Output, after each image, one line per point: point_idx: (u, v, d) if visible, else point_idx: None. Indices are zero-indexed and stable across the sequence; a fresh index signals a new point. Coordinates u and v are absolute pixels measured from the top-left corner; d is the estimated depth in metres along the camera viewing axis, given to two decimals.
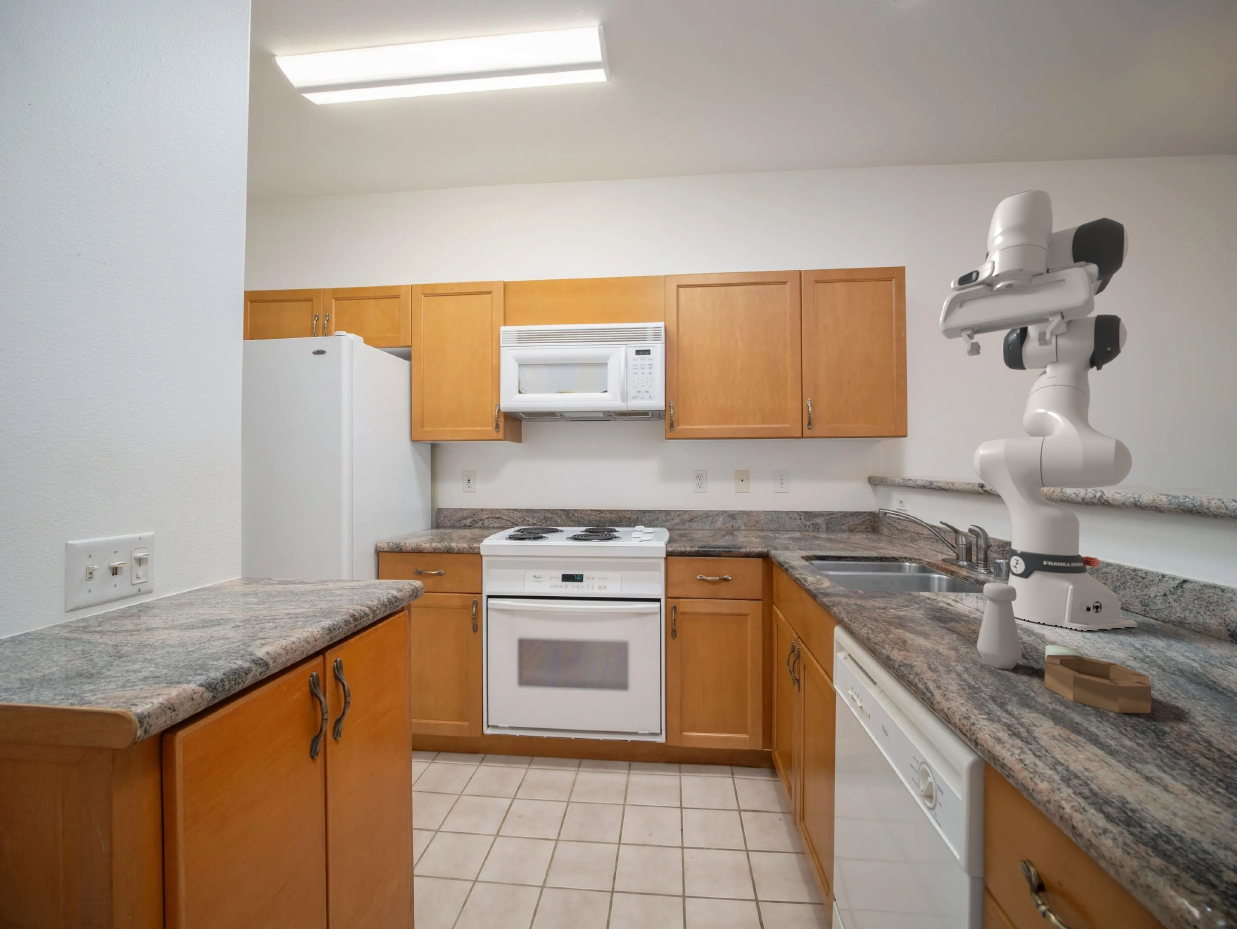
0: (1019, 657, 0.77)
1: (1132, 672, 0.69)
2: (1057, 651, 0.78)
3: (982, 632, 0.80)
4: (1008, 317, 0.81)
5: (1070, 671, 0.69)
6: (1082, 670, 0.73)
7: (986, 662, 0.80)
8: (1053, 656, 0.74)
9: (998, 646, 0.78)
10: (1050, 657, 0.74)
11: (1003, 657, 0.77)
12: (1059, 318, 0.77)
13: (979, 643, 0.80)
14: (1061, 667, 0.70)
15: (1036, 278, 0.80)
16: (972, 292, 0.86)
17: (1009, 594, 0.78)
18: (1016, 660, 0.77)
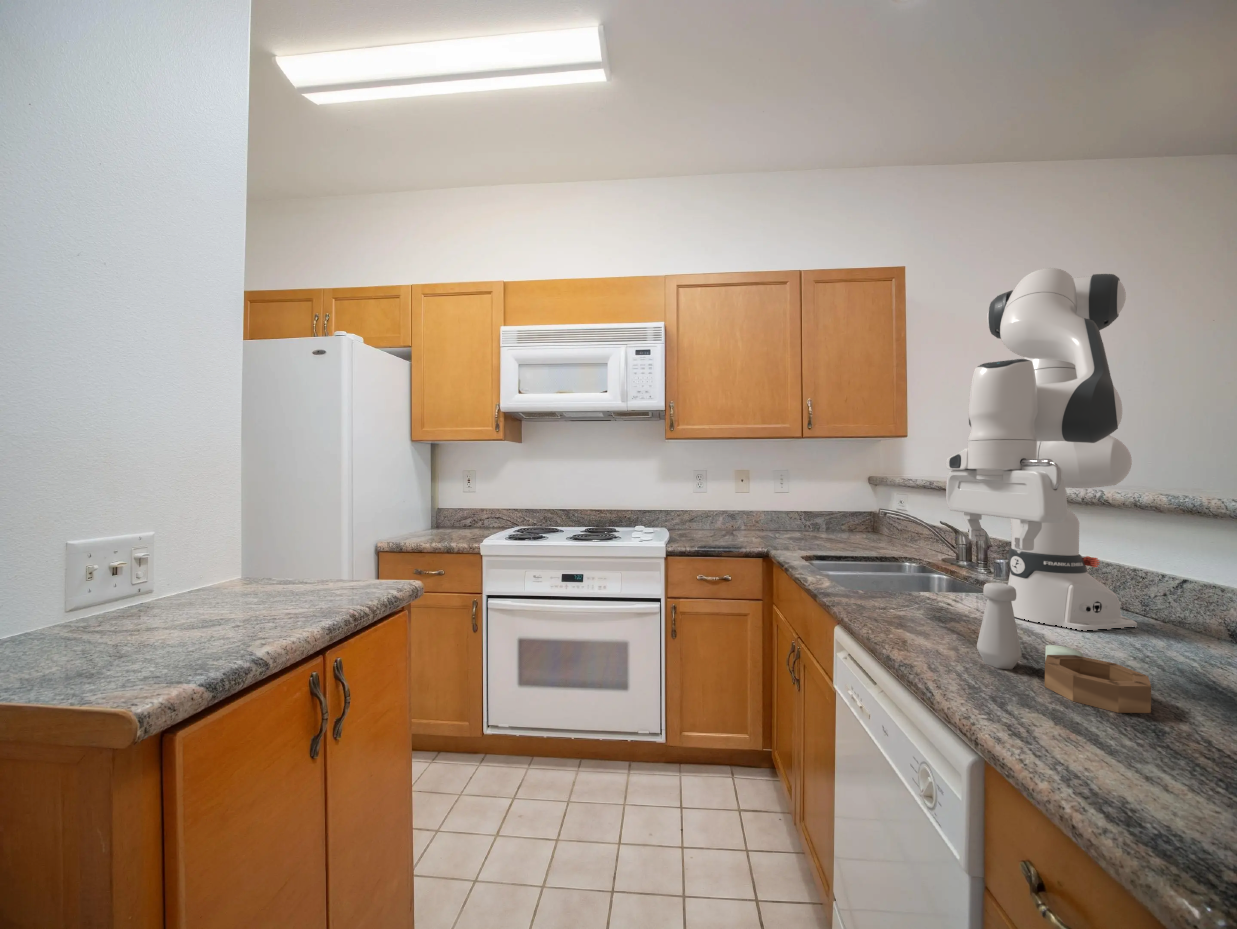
0: (1019, 657, 0.77)
1: (1132, 672, 0.69)
2: (1057, 651, 0.78)
3: (982, 632, 0.80)
4: (990, 514, 0.79)
5: (1070, 671, 0.69)
6: (1082, 670, 0.73)
7: (986, 662, 0.80)
8: (1053, 656, 0.74)
9: (998, 646, 0.78)
10: (1050, 657, 0.74)
11: (1003, 657, 0.77)
12: (1027, 527, 0.73)
13: (979, 643, 0.80)
14: (1061, 667, 0.70)
15: (1006, 475, 0.76)
16: (962, 476, 0.85)
17: (1009, 594, 0.78)
18: (1016, 660, 0.77)
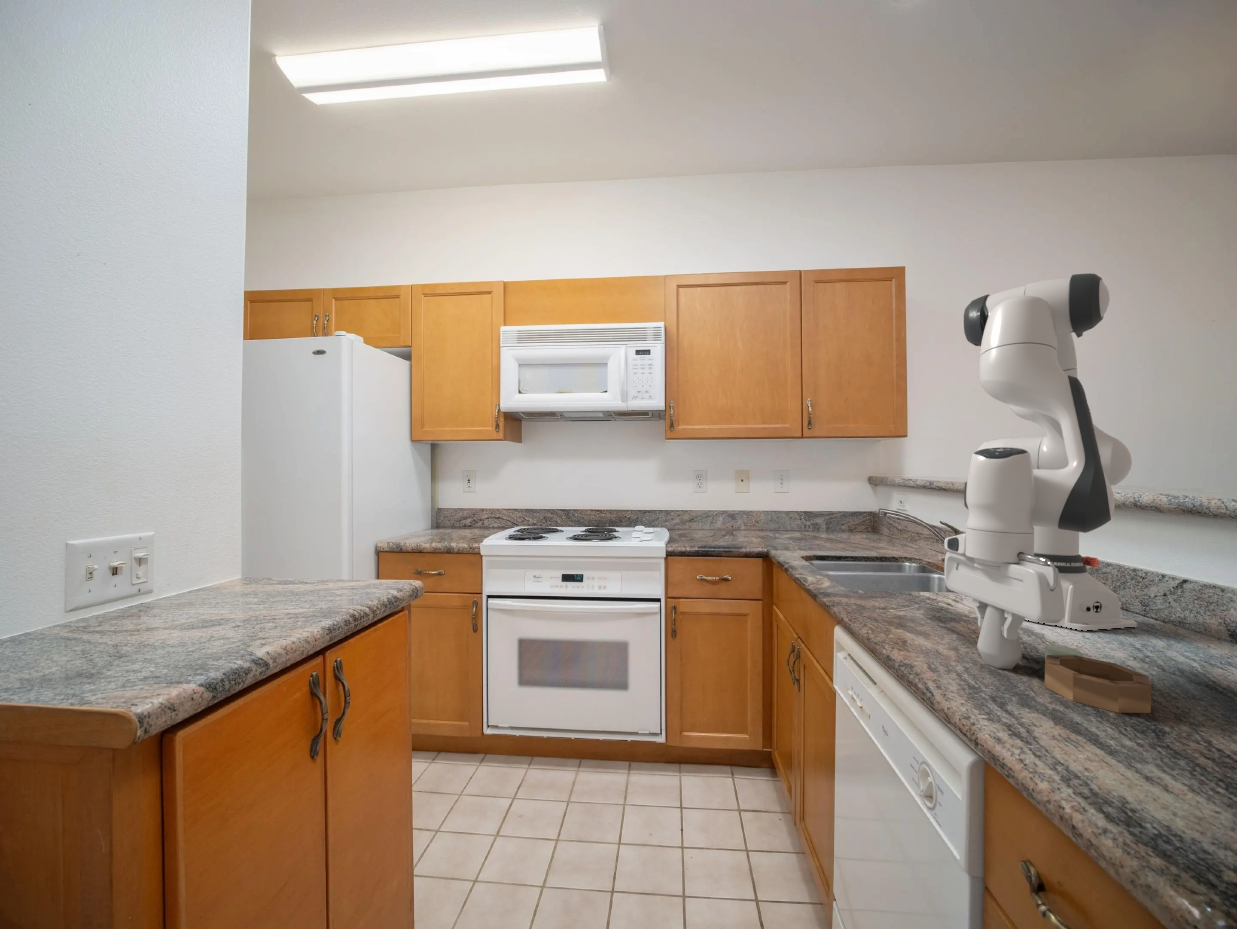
0: (1019, 657, 0.77)
1: (1132, 672, 0.69)
2: (1057, 651, 0.78)
3: (983, 632, 0.80)
4: (987, 602, 0.79)
5: (1070, 671, 0.69)
6: (1082, 670, 0.73)
7: (986, 662, 0.80)
8: (1053, 656, 0.74)
9: (999, 646, 0.77)
10: (1050, 657, 0.74)
11: (1004, 658, 0.77)
12: (1011, 618, 0.76)
13: (980, 643, 0.80)
14: (1061, 667, 0.70)
15: (1003, 567, 0.76)
16: (960, 559, 0.85)
17: None
18: (1016, 660, 0.77)
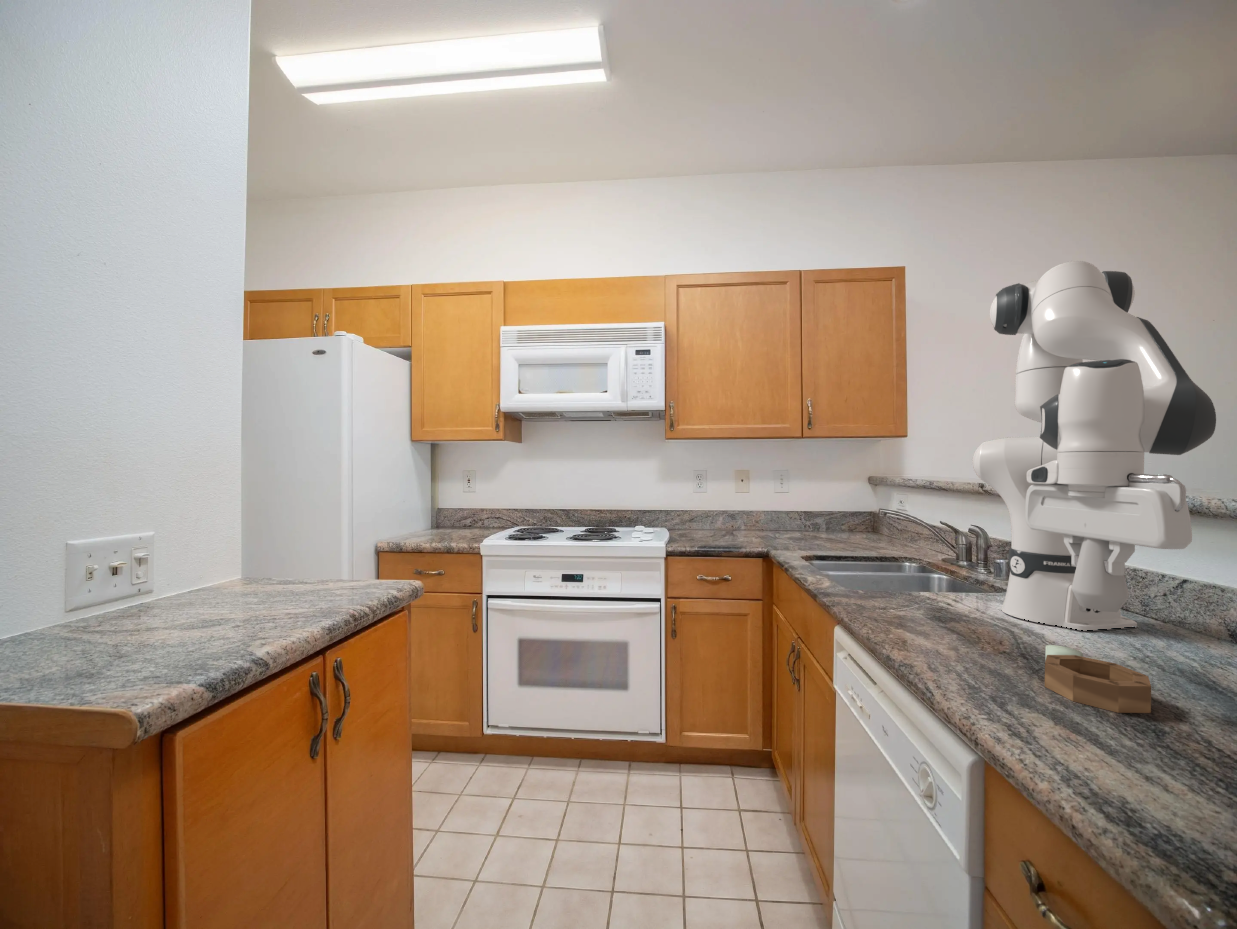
0: (1127, 597, 0.67)
1: (1132, 672, 0.69)
2: (1057, 651, 0.78)
3: (1080, 571, 0.70)
4: (1086, 535, 0.69)
5: (1070, 671, 0.69)
6: (1082, 670, 0.73)
7: (1085, 605, 0.69)
8: (1053, 656, 0.74)
9: (1102, 585, 0.67)
10: (1050, 657, 0.74)
11: (1109, 597, 0.67)
12: (1119, 550, 0.66)
13: (1076, 584, 0.70)
14: (1061, 667, 0.70)
15: (1109, 492, 0.66)
16: (1048, 491, 0.75)
17: None
18: (1123, 601, 0.67)
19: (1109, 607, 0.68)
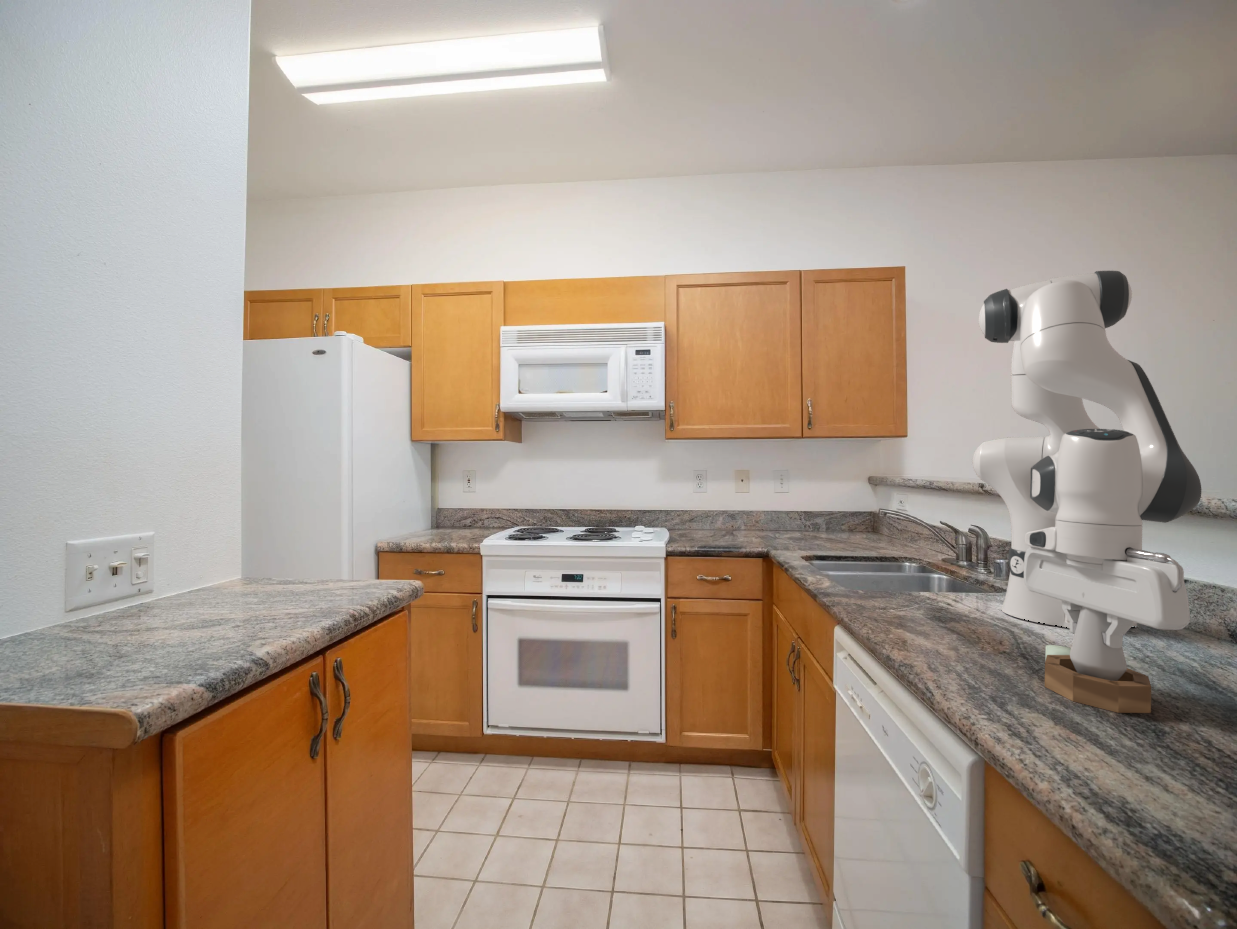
0: (1125, 670, 0.67)
1: (1132, 672, 0.69)
2: (1057, 651, 0.78)
3: (1078, 641, 0.70)
4: (1084, 605, 0.69)
5: (1070, 671, 0.69)
6: None
7: None
8: (1053, 656, 0.74)
9: (1100, 657, 0.67)
10: (1050, 657, 0.74)
11: (1106, 670, 0.67)
12: (1116, 623, 0.66)
13: (1074, 653, 0.70)
14: (1061, 667, 0.70)
15: (1107, 565, 0.66)
16: (1046, 556, 0.75)
17: None
18: (1121, 673, 0.67)
19: (1107, 679, 0.67)
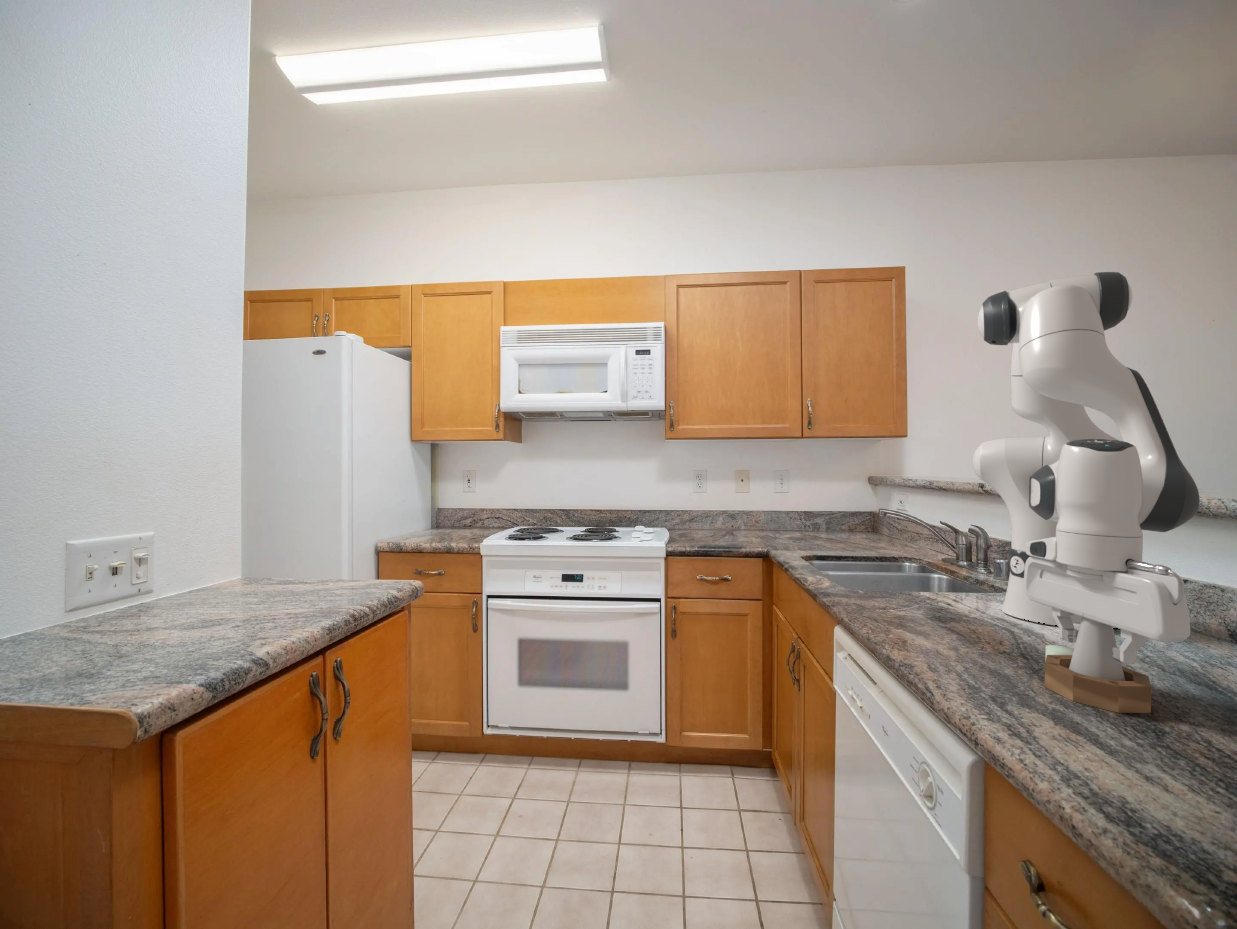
0: None
1: (1132, 672, 0.69)
2: (1057, 651, 0.78)
3: (1077, 657, 0.70)
4: (1084, 616, 0.69)
5: (1070, 671, 0.69)
6: None
7: None
8: (1053, 656, 0.74)
9: (1099, 673, 0.68)
10: (1050, 657, 0.74)
11: None
12: (1131, 639, 0.64)
13: (1073, 669, 0.70)
14: (1061, 667, 0.70)
15: (1108, 576, 0.66)
16: (1047, 566, 0.75)
17: None
18: None
19: None
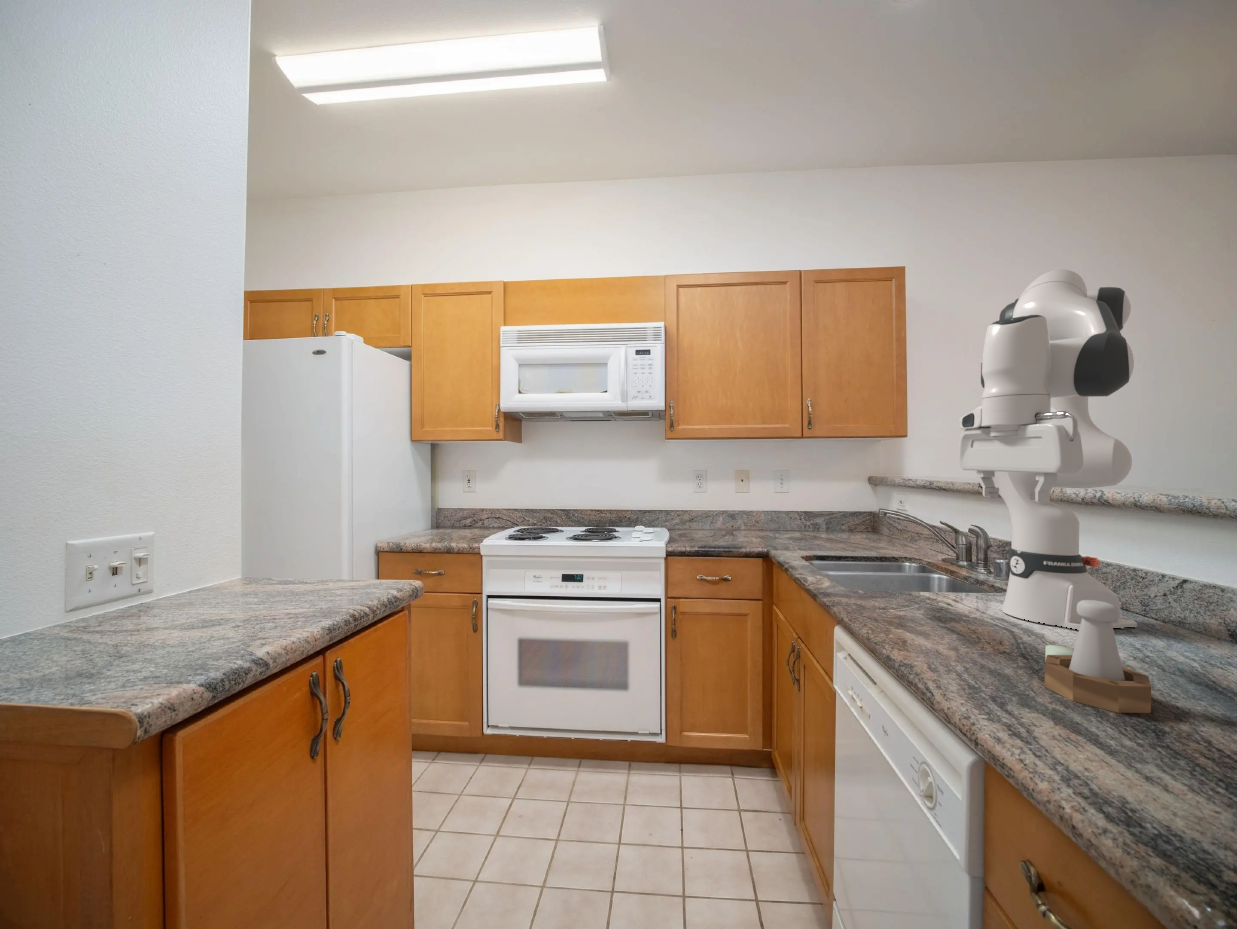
0: None
1: (1132, 672, 0.69)
2: (1057, 651, 0.78)
3: (1077, 657, 0.70)
4: (1004, 469, 0.80)
5: (1070, 671, 0.69)
6: None
7: None
8: (1053, 656, 0.74)
9: (1099, 673, 0.68)
10: (1050, 657, 0.74)
11: None
12: (1043, 479, 0.74)
13: (1073, 669, 0.70)
14: (1061, 667, 0.70)
15: (1021, 429, 0.77)
16: (975, 435, 0.86)
17: (1112, 614, 0.68)
18: None
19: None
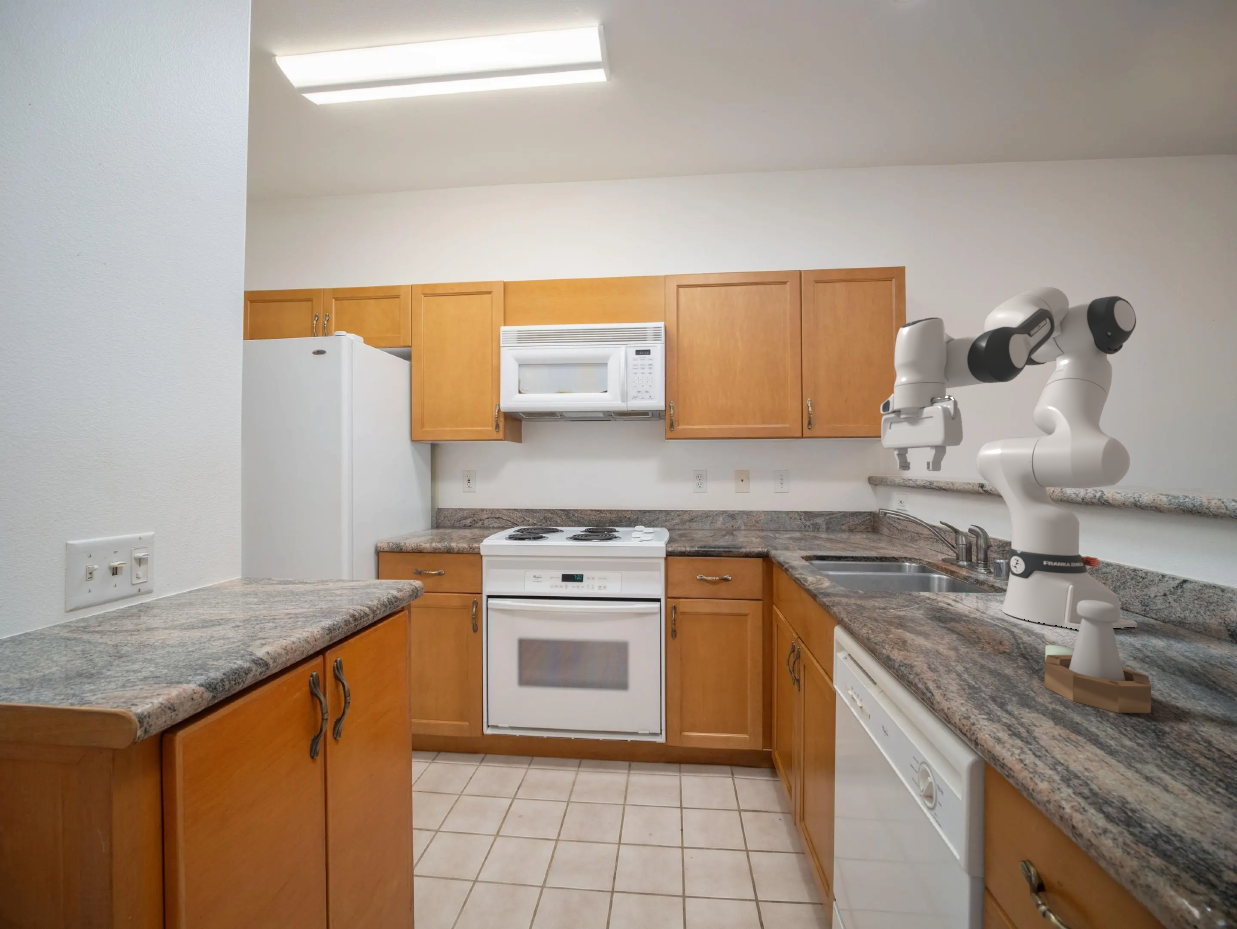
0: None
1: (1132, 672, 0.69)
2: (1057, 651, 0.78)
3: (1077, 657, 0.70)
4: (910, 445, 0.97)
5: (1070, 671, 0.69)
6: None
7: None
8: (1053, 656, 0.74)
9: (1099, 673, 0.68)
10: (1050, 657, 0.74)
11: None
12: (934, 451, 0.91)
13: (1073, 669, 0.70)
14: (1061, 667, 0.70)
15: (920, 411, 0.94)
16: (891, 418, 1.03)
17: (1112, 614, 0.68)
18: None
19: None
